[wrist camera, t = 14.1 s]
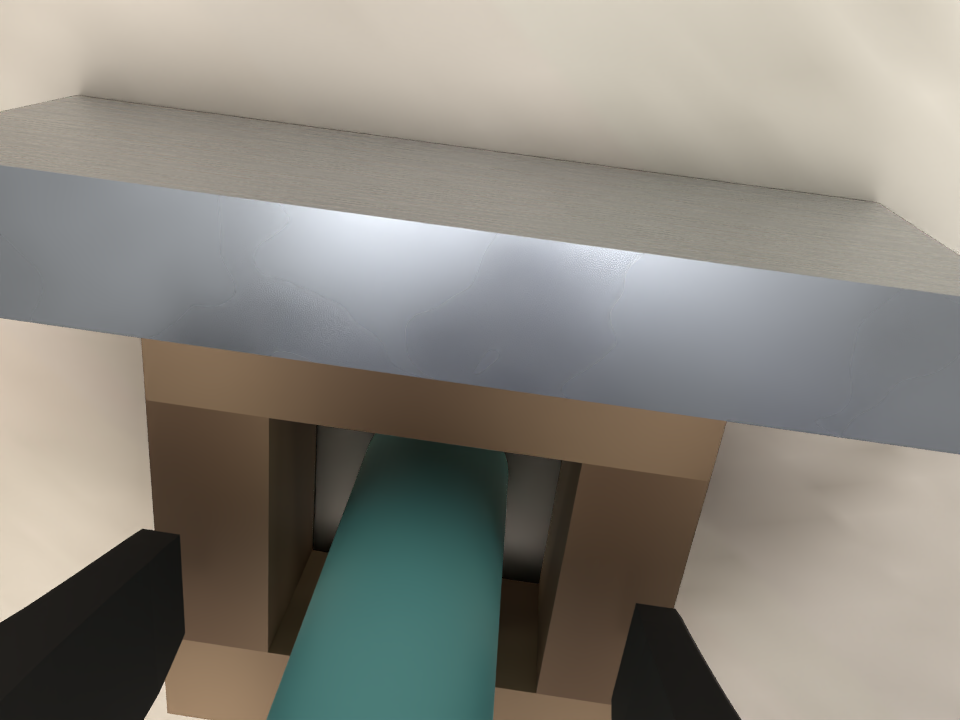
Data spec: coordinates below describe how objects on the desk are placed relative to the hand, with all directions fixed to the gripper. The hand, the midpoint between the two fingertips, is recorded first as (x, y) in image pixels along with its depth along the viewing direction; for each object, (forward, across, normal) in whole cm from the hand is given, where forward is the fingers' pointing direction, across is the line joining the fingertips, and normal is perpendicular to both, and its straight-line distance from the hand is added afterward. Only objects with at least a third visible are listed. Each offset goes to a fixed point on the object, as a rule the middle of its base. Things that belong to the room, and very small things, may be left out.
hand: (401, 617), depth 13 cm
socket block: (+4, 0, 0) cm, 4 cm away
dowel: (+4, 0, 0) cm, 4 cm away
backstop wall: (+4, 0, -6) cm, 7 cm away
